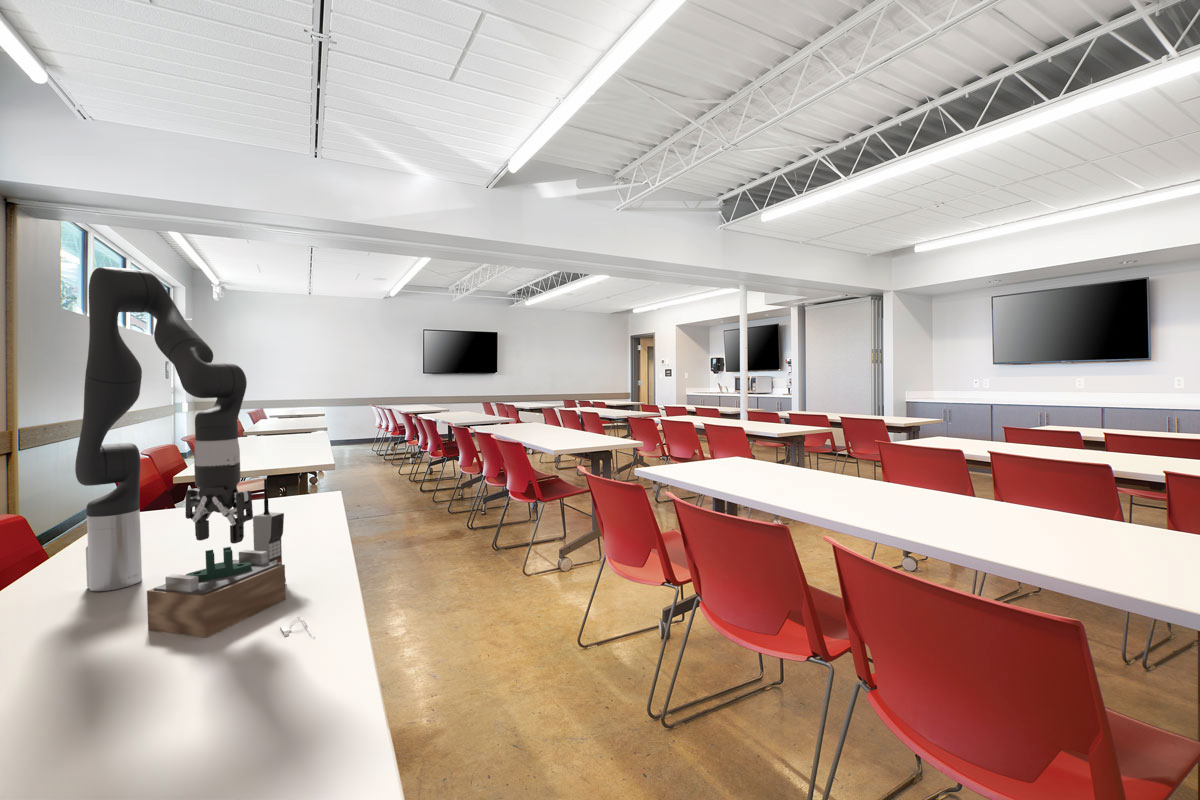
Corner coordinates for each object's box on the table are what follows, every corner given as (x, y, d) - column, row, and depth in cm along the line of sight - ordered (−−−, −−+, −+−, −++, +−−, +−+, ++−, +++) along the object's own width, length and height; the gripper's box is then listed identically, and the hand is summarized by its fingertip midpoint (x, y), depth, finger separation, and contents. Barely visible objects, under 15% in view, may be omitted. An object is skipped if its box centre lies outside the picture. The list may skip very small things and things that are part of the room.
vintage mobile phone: (273, 589, 122) (270, 480, 121) (254, 588, 123) (251, 479, 122) (286, 583, 125) (283, 477, 125) (268, 582, 126) (265, 477, 126)
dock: (148, 630, 101) (146, 576, 101) (233, 594, 119) (232, 548, 119) (206, 637, 98) (205, 581, 98) (285, 599, 116) (284, 551, 115)
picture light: (317, 641, 97) (316, 630, 97) (289, 649, 94) (289, 637, 94) (300, 616, 108) (299, 606, 108) (275, 623, 105) (275, 612, 105)
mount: (185, 584, 103) (185, 559, 103) (185, 578, 107) (184, 553, 107) (252, 571, 110) (252, 547, 110) (250, 566, 114) (249, 542, 113)
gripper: (171, 463, 106) (173, 544, 106) (229, 465, 103) (231, 549, 103) (207, 458, 113) (209, 533, 114) (262, 460, 110) (264, 538, 110)
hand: (219, 540), depth 108 cm, fingers open, 8 cm apart
